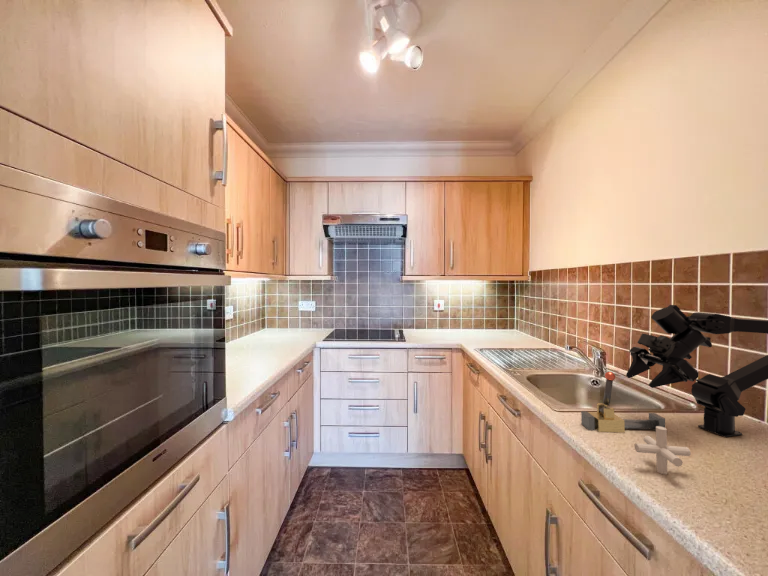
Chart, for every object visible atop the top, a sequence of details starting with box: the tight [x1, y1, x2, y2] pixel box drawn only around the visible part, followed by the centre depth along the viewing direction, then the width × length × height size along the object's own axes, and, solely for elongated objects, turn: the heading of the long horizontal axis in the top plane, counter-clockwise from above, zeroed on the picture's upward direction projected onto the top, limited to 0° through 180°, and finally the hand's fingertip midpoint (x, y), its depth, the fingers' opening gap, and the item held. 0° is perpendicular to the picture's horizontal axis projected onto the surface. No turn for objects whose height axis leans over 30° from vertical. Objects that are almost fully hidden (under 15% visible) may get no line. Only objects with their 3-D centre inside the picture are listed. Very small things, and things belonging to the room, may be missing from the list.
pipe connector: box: [633, 426, 692, 475], centre depth 70 cm, size 10×10×10 cm
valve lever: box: [599, 371, 616, 415], centre depth 92 cm, size 3×3×13 cm
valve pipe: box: [580, 402, 666, 434], centre depth 92 cm, size 21×6×6 cm, turn 84°
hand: (638, 381), depth 91 cm, fingers open, 9 cm apart
